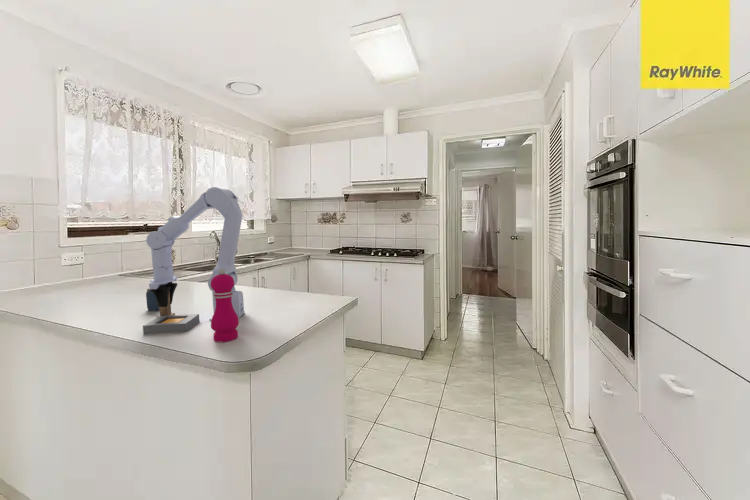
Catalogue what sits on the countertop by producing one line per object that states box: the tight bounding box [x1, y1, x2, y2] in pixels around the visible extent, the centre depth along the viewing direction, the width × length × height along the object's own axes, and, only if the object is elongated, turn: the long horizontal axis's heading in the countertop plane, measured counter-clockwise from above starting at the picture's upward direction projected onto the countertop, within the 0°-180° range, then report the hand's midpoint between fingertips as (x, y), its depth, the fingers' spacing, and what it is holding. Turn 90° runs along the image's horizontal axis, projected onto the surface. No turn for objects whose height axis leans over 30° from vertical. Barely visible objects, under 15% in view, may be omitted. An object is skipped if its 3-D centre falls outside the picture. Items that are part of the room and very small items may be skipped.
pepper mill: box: [210, 269, 240, 343], centre depth 91 cm, size 7×7×20 cm
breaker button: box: [162, 318, 185, 323], centre depth 102 cm, size 5×5×2 cm
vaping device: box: [145, 288, 160, 312], centre depth 122 cm, size 3×5×12 cm, turn 79°
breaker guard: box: [142, 313, 201, 335], centre depth 102 cm, size 12×10×2 cm
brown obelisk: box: [156, 291, 176, 318], centre depth 112 cm, size 4×4×10 cm
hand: (165, 305), depth 112 cm, fingers closed on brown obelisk, 2 cm apart
